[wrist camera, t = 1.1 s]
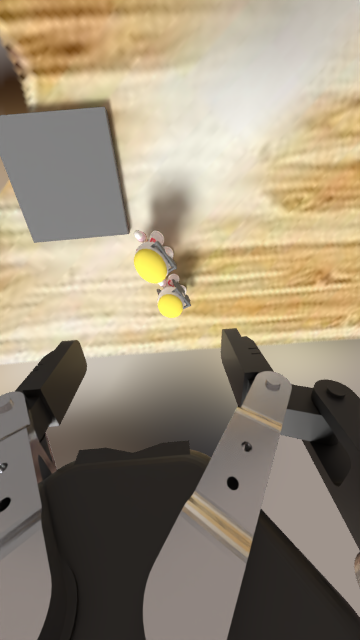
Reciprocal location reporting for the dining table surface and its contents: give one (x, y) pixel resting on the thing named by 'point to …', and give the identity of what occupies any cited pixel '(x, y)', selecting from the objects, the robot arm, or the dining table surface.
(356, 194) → the dining table surface
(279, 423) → the robot arm
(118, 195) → the mat
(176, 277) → the toy figures
